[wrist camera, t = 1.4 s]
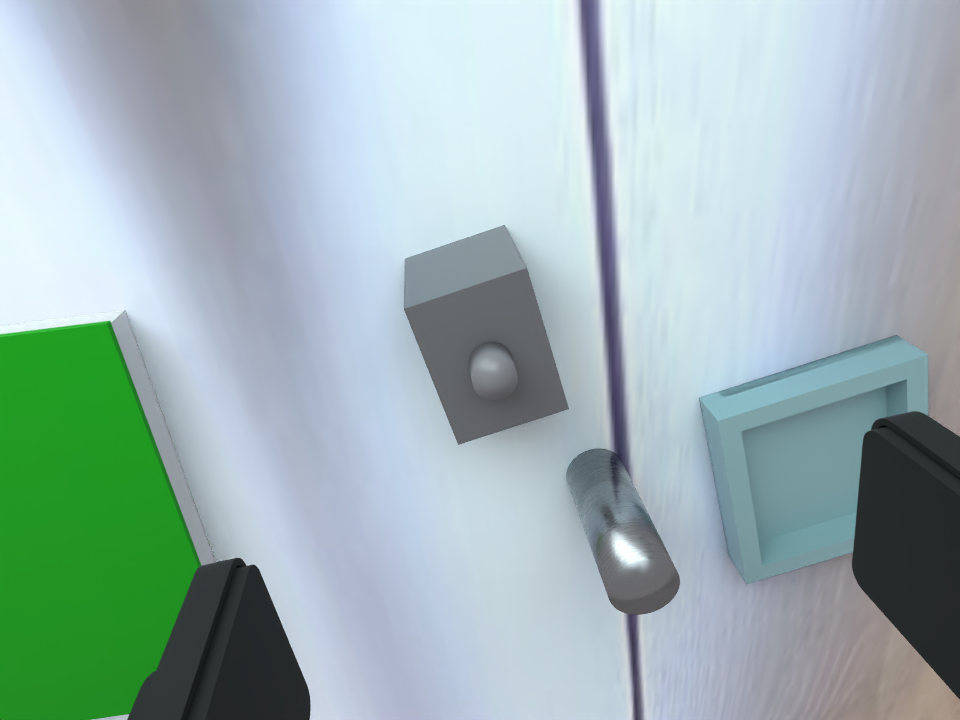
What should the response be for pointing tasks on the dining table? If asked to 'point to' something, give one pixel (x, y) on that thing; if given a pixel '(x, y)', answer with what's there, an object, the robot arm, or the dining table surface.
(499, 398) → the block
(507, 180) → the dining table surface
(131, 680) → the green flat slab
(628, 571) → the post
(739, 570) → the end holder
